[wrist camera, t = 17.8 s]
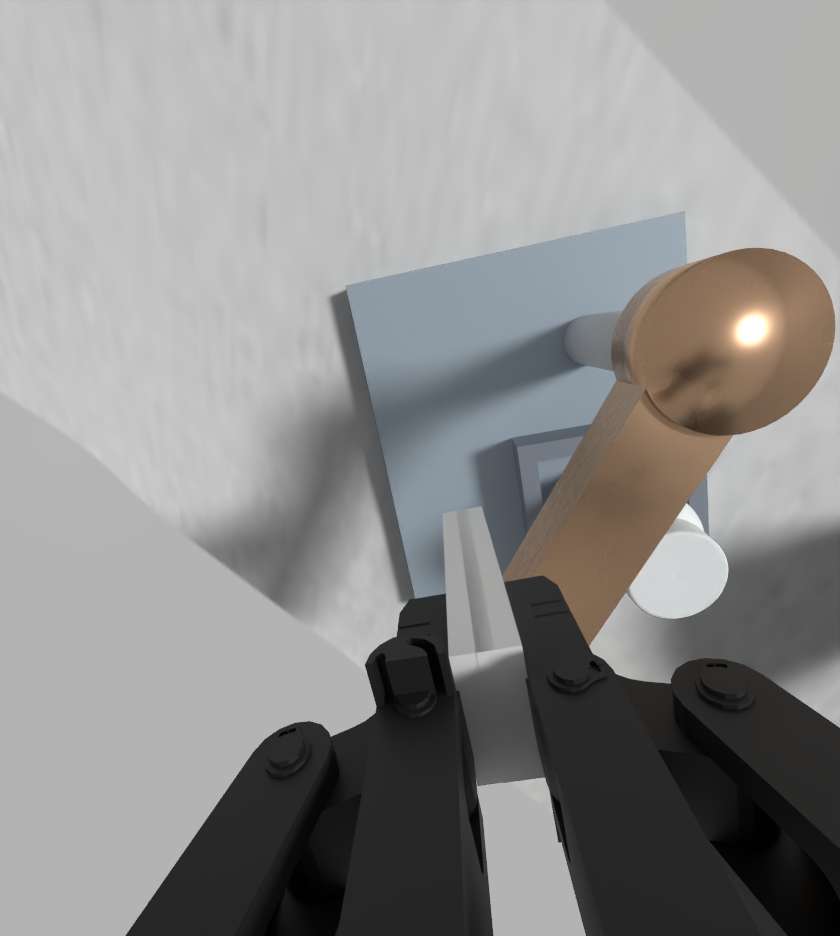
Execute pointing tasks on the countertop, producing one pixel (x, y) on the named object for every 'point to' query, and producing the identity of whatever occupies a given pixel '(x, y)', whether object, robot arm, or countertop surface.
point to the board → (498, 377)
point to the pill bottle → (681, 571)
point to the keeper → (675, 414)
